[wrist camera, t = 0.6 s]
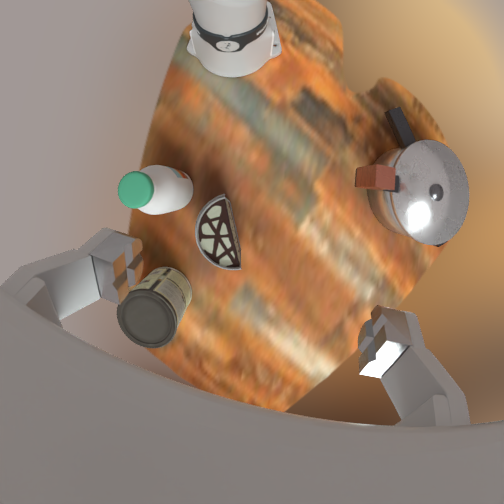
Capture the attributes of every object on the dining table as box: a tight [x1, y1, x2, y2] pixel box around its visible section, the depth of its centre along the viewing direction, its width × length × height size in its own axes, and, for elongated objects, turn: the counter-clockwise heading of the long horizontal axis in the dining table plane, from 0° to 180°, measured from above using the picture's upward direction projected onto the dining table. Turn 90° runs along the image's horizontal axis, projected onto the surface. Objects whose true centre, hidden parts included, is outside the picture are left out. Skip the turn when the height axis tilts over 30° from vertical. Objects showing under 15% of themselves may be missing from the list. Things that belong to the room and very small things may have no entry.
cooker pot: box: [367, 107, 447, 247], centre depth 46 cm, size 27×18×10 cm
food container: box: [195, 194, 242, 270], centre depth 48 cm, size 12×6×10 cm, turn 12°
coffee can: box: [117, 267, 192, 348], centre depth 48 cm, size 10×10×14 cm
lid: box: [355, 140, 469, 245], centre depth 37 cm, size 25×19×8 cm
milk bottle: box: [118, 165, 193, 215], centre depth 41 cm, size 8×8×20 cm
